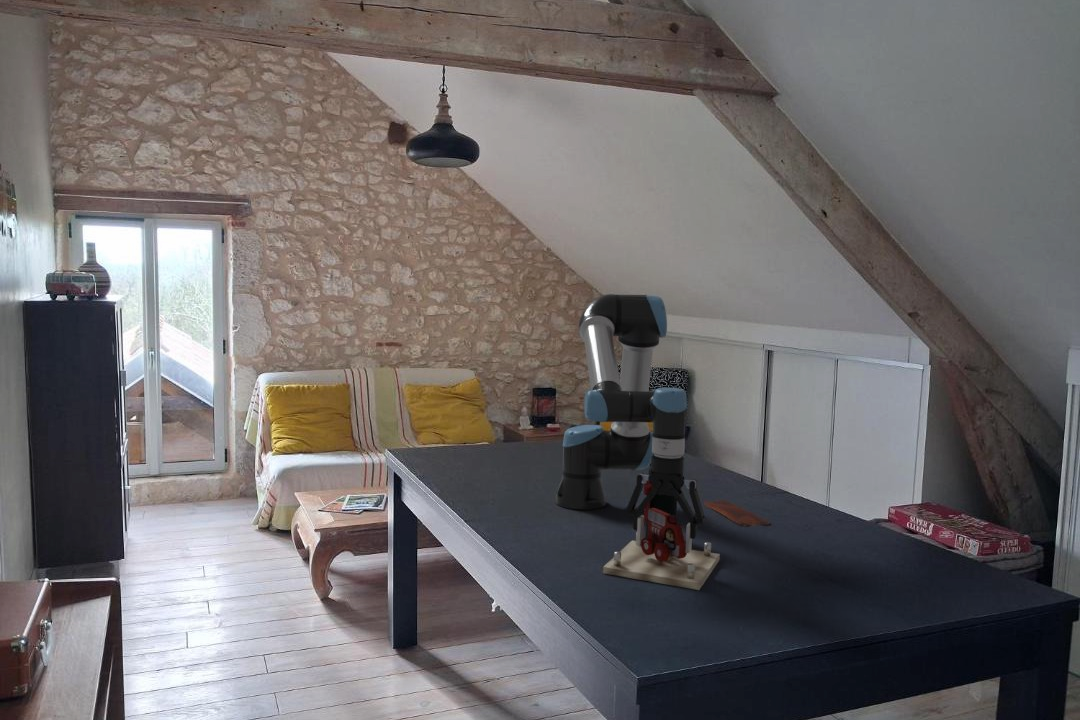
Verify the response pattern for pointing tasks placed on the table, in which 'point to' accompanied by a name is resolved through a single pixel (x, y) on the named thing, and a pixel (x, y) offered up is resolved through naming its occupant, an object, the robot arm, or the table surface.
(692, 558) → the standoff plate
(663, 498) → the wine bottle
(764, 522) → the wooden tablet
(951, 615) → the table surface
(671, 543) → the toy fire truck
